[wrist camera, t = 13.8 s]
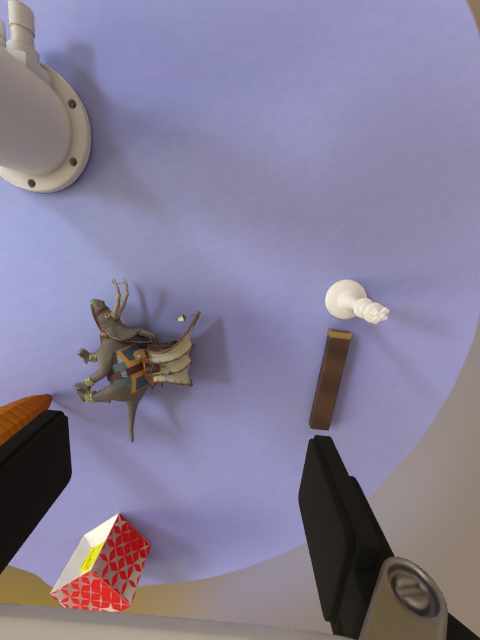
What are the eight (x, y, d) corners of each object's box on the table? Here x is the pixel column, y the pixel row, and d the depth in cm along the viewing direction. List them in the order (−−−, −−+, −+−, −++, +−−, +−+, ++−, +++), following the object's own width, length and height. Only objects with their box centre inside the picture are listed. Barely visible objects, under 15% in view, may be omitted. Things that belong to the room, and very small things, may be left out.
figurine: (29, 303, 29) (173, 256, 28) (66, 297, 35) (187, 258, 34) (98, 460, 33) (231, 425, 31) (121, 431, 39) (234, 400, 37)
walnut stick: (328, 328, 35) (331, 331, 33) (348, 331, 35) (352, 334, 33) (308, 423, 38) (310, 429, 37) (326, 425, 38) (329, 431, 37)
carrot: (34, 376, 37) (-102, 454, 23) (69, 385, 38) (-43, 468, 23) (31, 406, 39) (-100, 499, 24) (65, 415, 39) (-45, 512, 24)
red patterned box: (118, 513, 43) (90, 570, 35) (151, 544, 44) (131, 605, 37) (83, 535, 44) (48, 594, 36) (116, 565, 46) (89, 628, 38)
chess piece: (373, 298, 33) (424, 316, 24) (343, 326, 34) (381, 354, 25) (346, 271, 33) (387, 278, 23) (317, 300, 34) (344, 319, 24)
